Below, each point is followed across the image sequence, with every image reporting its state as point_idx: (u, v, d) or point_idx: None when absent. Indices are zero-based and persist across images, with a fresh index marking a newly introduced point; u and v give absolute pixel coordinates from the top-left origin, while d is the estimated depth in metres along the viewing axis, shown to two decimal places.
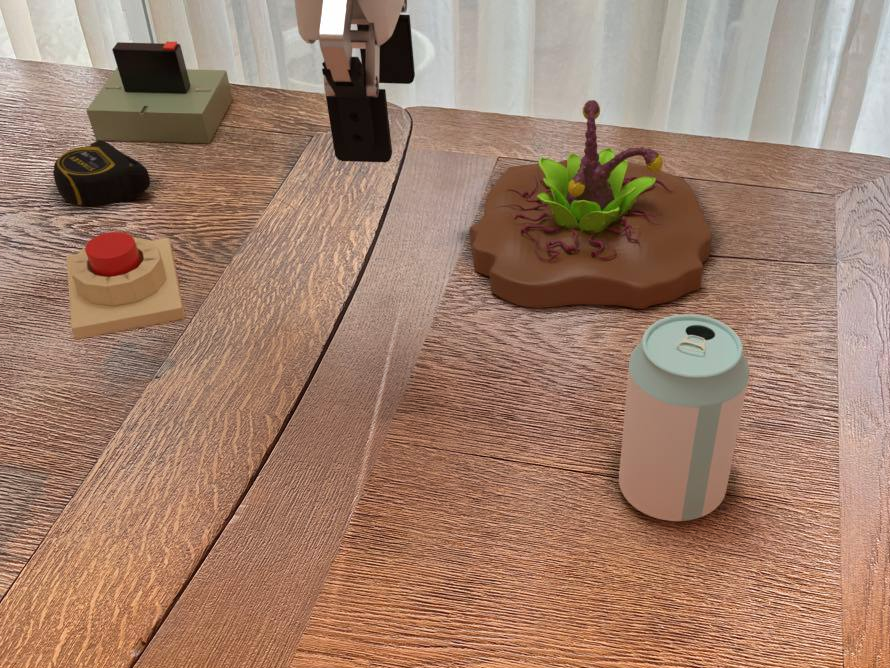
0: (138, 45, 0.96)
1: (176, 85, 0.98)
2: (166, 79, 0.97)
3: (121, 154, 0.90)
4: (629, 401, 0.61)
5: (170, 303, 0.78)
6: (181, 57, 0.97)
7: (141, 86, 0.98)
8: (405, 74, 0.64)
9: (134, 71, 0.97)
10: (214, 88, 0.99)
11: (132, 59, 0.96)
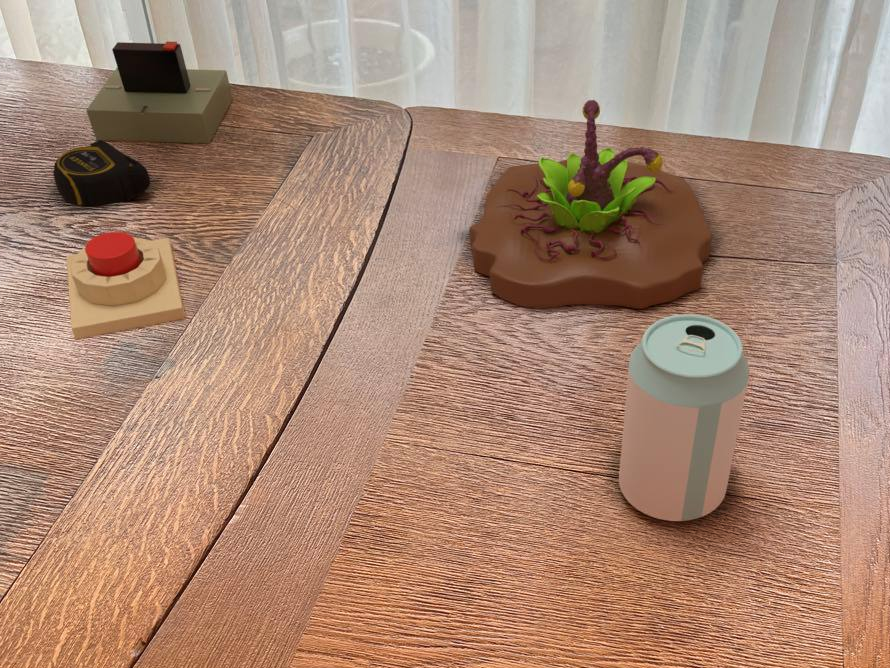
0: (138, 45, 0.96)
1: (176, 85, 0.98)
2: (166, 79, 0.97)
3: (121, 154, 0.90)
4: (629, 401, 0.61)
5: (170, 303, 0.78)
6: (181, 57, 0.97)
7: (141, 86, 0.98)
8: None
9: (134, 71, 0.97)
10: (214, 88, 0.99)
11: (132, 59, 0.96)
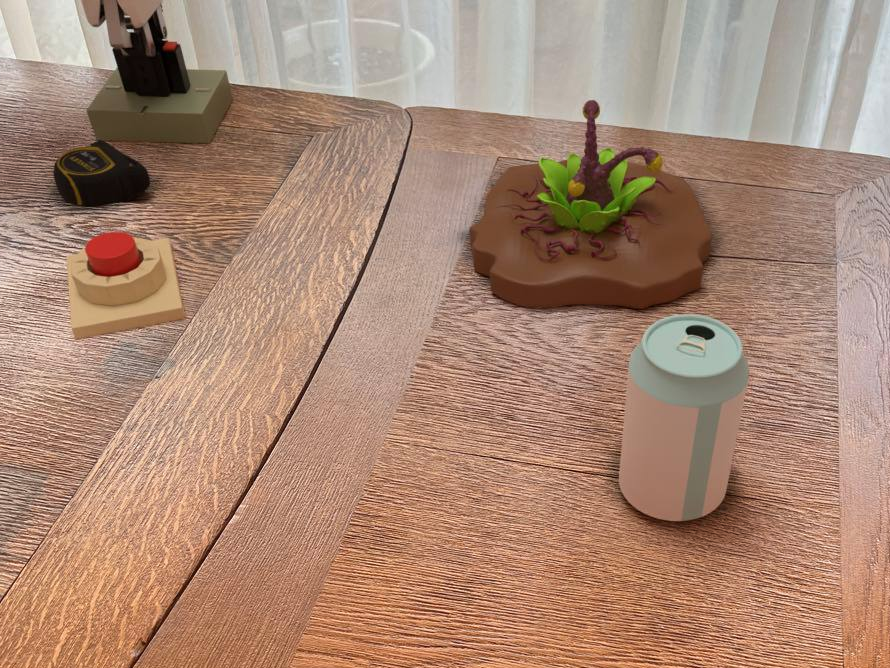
0: None
1: (176, 85, 0.98)
2: None
3: (121, 154, 0.90)
4: (629, 401, 0.61)
5: (170, 303, 0.78)
6: (181, 57, 0.97)
7: None
8: None
9: None
10: (214, 88, 0.99)
11: None
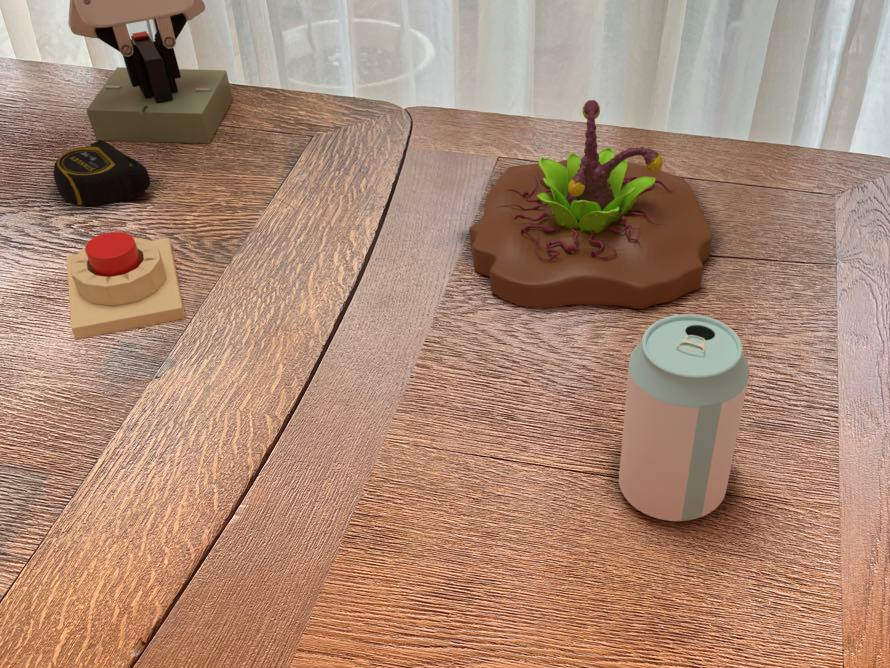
0: (146, 49, 0.95)
1: None
2: None
3: (121, 154, 0.90)
4: (629, 401, 0.61)
5: (170, 303, 0.78)
6: None
7: None
8: None
9: None
10: (214, 88, 0.99)
11: None
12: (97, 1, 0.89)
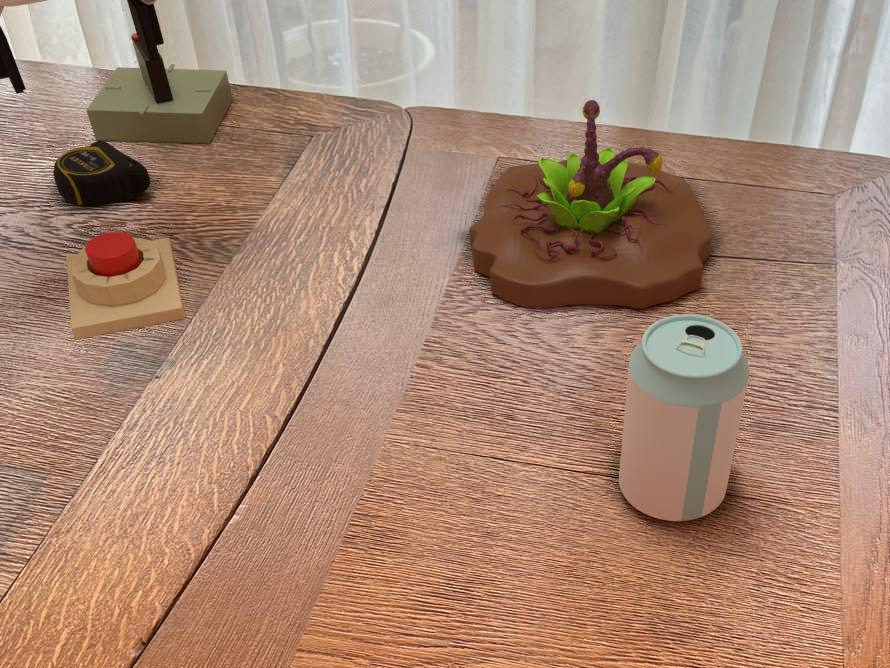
0: None
1: None
2: None
3: (121, 154, 0.90)
4: (629, 401, 0.61)
5: (170, 303, 0.78)
6: None
7: None
8: None
9: None
10: (214, 88, 0.99)
11: None
12: None
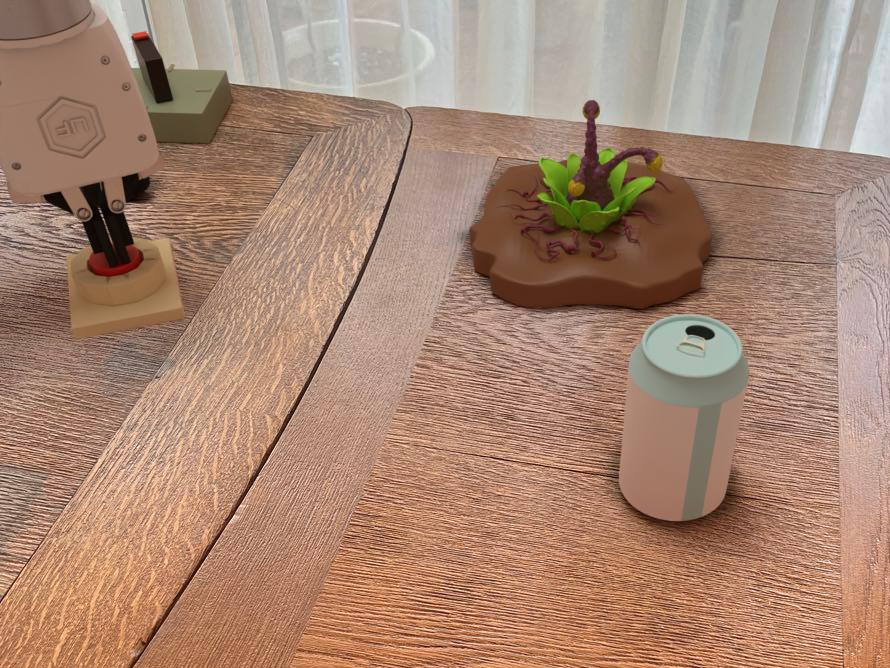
0: (146, 49, 0.95)
1: None
2: None
3: None
4: (629, 401, 0.61)
5: (170, 303, 0.78)
6: None
7: None
8: None
9: None
10: (214, 88, 0.99)
11: None
12: (30, 165, 0.68)
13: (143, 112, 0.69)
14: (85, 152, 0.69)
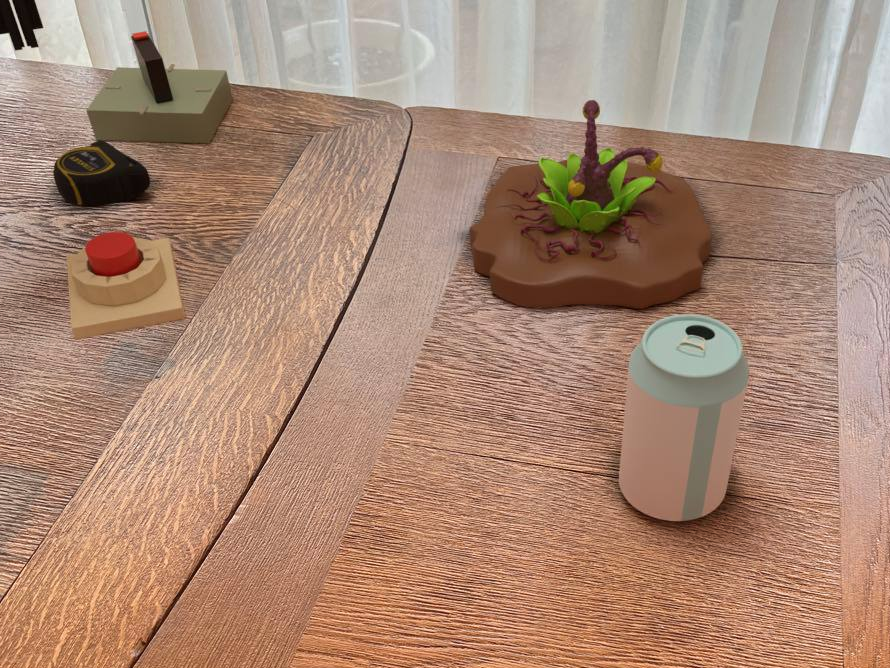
0: (146, 49, 0.95)
1: None
2: None
3: (121, 154, 0.90)
4: (629, 401, 0.61)
5: (170, 303, 0.78)
6: None
7: None
8: None
9: None
10: (214, 88, 0.99)
11: None
12: None
13: None
14: None
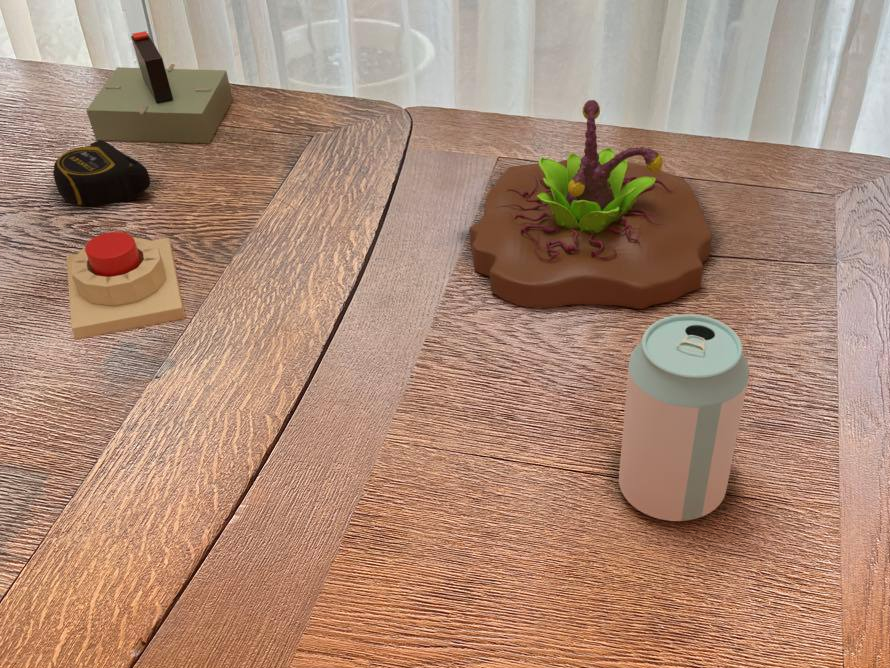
0: (146, 49, 0.95)
1: None
2: None
3: (121, 154, 0.90)
4: (629, 401, 0.61)
5: (170, 303, 0.78)
6: None
7: None
8: None
9: None
10: (214, 88, 0.99)
11: None
12: None
13: None
14: None
